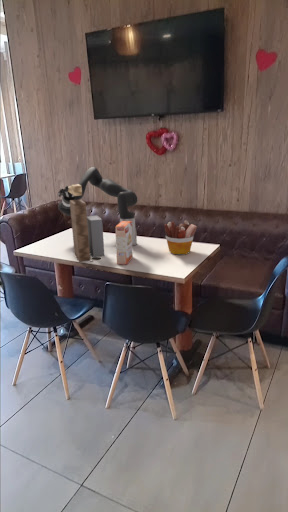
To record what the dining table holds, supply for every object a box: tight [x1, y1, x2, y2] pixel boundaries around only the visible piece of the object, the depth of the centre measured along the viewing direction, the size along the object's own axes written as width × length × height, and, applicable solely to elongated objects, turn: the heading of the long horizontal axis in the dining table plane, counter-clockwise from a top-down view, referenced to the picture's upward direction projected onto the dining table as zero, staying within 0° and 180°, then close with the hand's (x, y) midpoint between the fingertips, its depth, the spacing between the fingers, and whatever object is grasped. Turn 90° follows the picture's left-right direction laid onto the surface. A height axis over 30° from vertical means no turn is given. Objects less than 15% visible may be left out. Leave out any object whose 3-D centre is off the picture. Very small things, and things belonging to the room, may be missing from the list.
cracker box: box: [115, 221, 134, 266], centre depth 196 cm, size 14×6×21 cm, turn 168°
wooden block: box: [70, 198, 91, 263], centre depth 201 cm, size 6×14×32 cm, turn 21°
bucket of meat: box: [163, 220, 198, 255], centre depth 207 cm, size 20×16×20 cm
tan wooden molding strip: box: [67, 183, 82, 196], centre depth 200 cm, size 4×24×5 cm, turn 21°
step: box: [87, 215, 105, 259], centre depth 209 cm, size 6×12×22 cm, turn 21°
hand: (71, 186), depth 206 cm, fingers closed on tan wooden molding strip, 4 cm apart
